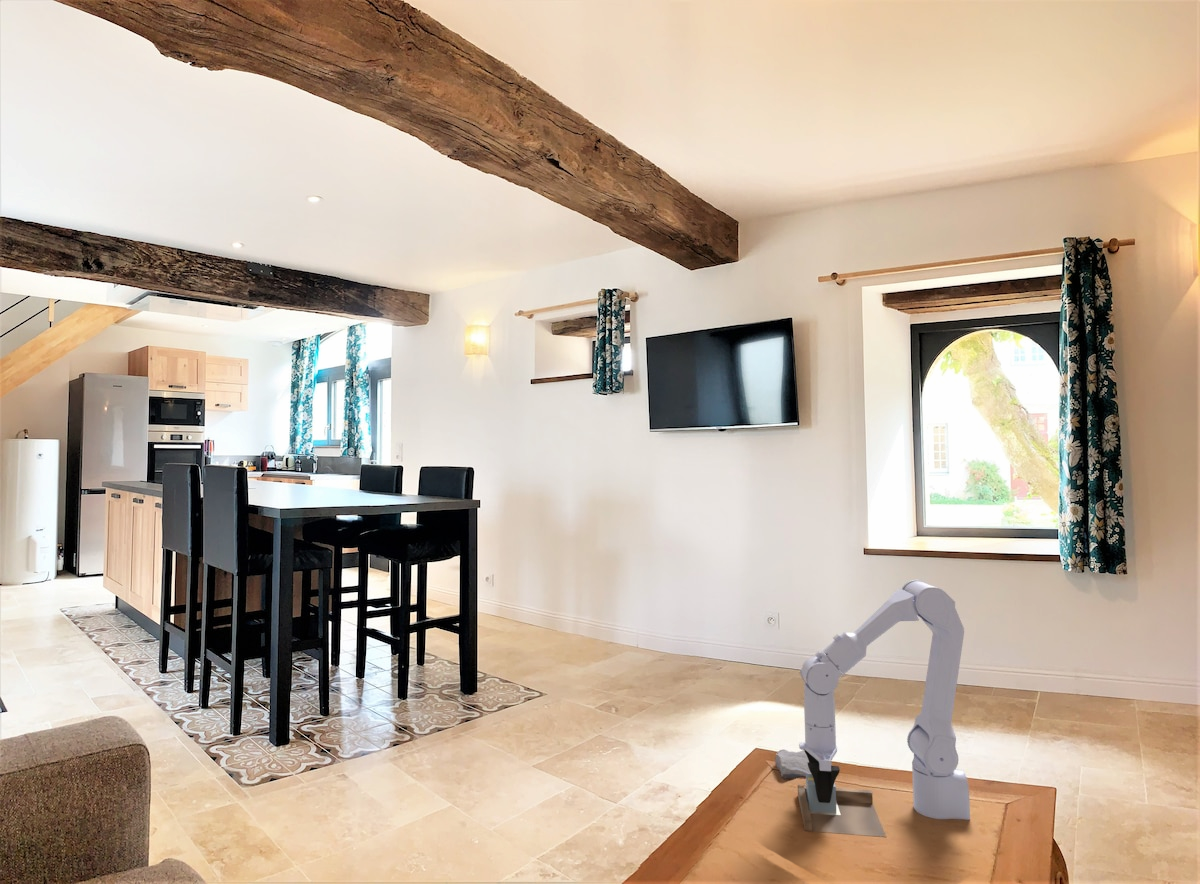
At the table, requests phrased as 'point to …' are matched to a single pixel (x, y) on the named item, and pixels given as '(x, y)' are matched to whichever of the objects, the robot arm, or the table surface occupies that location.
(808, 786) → the cube
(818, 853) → the table surface
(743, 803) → the table surface
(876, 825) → the tray
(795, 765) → the stone block
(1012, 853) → the table surface
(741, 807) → the table surface
